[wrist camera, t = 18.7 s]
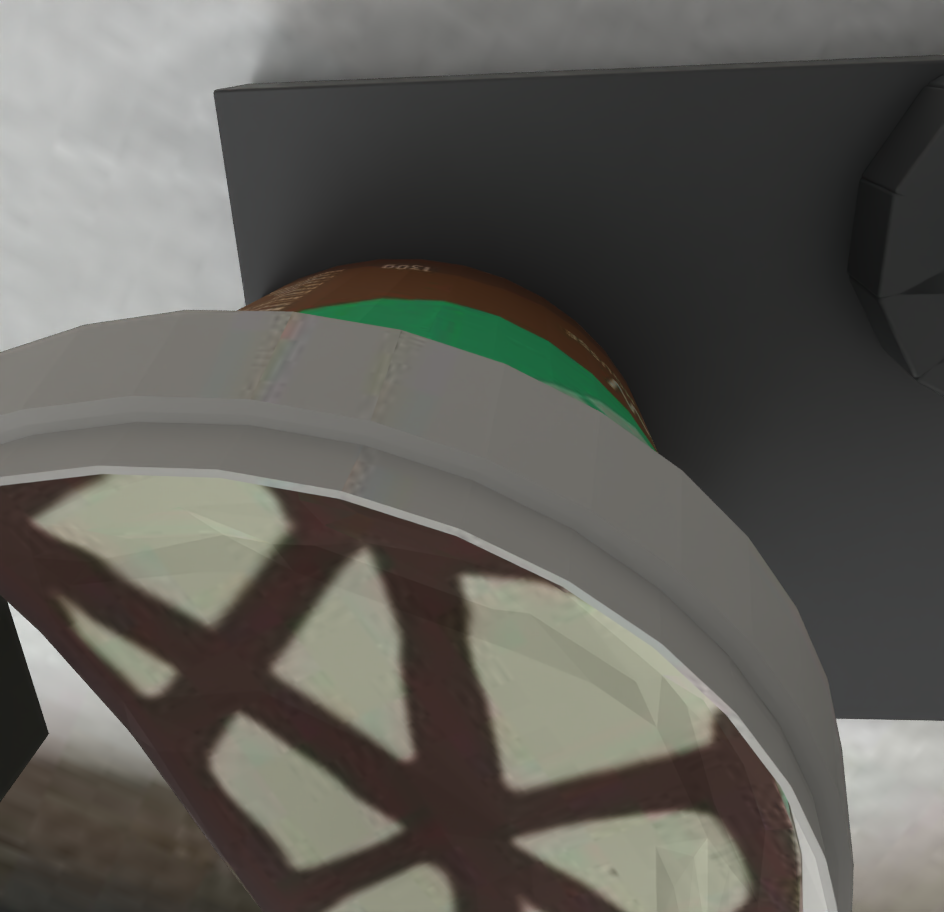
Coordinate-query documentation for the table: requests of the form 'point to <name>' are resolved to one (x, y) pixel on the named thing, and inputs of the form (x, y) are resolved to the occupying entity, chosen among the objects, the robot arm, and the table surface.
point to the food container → (419, 606)
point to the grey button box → (683, 287)
